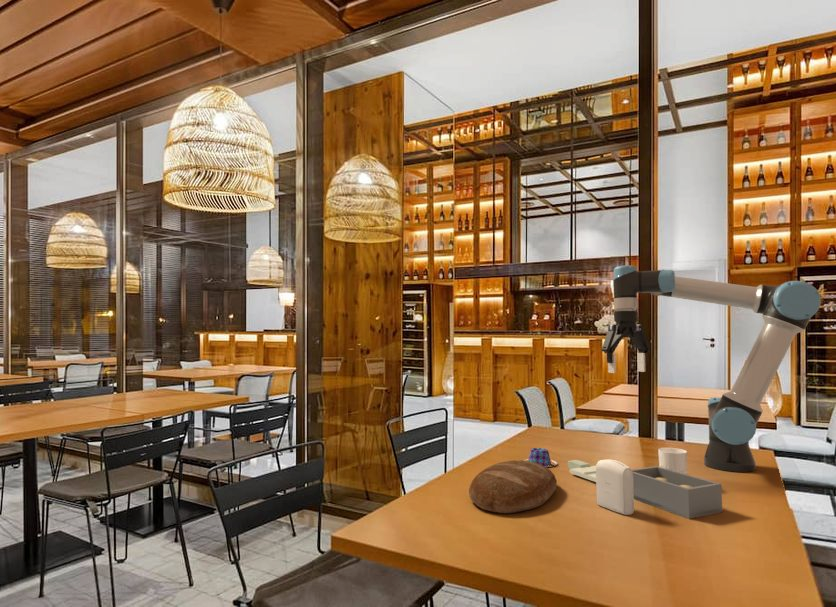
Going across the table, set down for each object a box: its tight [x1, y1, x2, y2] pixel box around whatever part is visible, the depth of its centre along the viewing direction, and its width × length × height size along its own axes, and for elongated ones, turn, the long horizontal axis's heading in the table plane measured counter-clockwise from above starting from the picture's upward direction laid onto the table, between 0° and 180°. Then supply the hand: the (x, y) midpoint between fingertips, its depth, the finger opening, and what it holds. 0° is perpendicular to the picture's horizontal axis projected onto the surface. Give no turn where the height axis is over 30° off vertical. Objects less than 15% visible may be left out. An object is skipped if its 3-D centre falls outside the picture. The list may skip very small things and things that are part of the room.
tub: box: [631, 465, 723, 520], centre depth 142 cm, size 12×20×7 cm, turn 24°
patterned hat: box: [524, 447, 558, 468], centre depth 186 cm, size 12×12×5 cm
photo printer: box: [595, 458, 635, 516], centre depth 138 cm, size 10×4×12 cm, turn 26°
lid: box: [567, 459, 597, 483], centre depth 167 cm, size 13×27×3 cm, turn 24°
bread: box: [468, 459, 558, 514], centre depth 151 cm, size 22×37×8 cm, turn 153°
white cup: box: [657, 447, 688, 475], centre depth 161 cm, size 8×8×10 cm
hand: (627, 372), depth 184 cm, fingers open, 13 cm apart
